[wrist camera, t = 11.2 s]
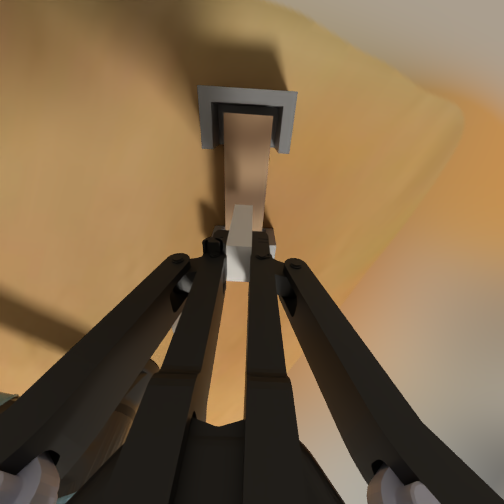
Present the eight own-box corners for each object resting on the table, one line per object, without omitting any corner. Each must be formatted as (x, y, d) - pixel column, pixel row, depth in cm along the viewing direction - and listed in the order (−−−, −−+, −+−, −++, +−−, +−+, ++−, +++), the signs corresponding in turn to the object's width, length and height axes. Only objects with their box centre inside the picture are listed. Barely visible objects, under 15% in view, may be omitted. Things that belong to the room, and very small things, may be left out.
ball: (227, 311, 38) (222, 348, 31) (192, 319, 39) (180, 357, 33) (201, 272, 32) (189, 307, 26) (162, 283, 34) (142, 320, 28)
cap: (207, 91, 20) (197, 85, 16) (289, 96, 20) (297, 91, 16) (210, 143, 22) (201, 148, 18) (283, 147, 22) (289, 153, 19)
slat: (258, 242, 29) (258, 264, 25) (229, 241, 29) (225, 262, 24) (269, 116, 20) (273, 116, 16) (229, 113, 20) (223, 112, 16)
